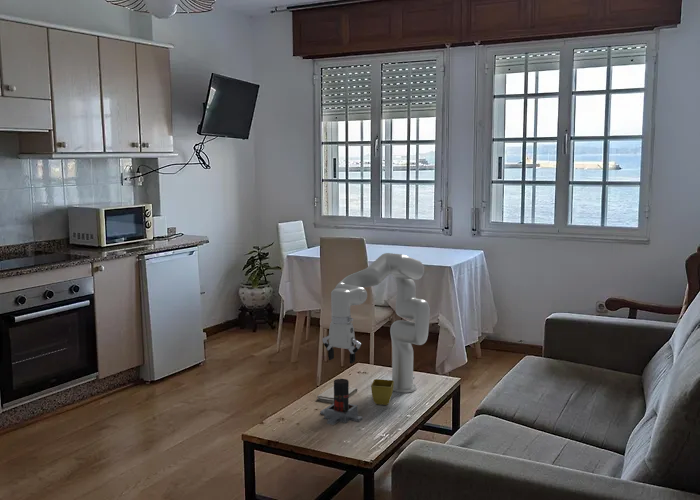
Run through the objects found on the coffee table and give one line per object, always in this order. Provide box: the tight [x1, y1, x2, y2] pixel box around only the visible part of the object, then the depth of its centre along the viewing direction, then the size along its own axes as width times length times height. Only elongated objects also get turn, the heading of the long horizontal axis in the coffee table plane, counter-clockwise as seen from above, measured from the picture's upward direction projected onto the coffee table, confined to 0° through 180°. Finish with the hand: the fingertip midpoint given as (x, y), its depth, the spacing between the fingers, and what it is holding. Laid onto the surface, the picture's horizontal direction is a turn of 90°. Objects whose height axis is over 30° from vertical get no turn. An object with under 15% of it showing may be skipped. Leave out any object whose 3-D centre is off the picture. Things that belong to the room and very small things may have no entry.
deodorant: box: [333, 378, 350, 412], centre depth 269 cm, size 6×6×15 cm
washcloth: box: [316, 385, 358, 404], centre depth 294 cm, size 12×18×3 cm, turn 155°
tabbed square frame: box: [320, 403, 363, 426], centre depth 270 cm, size 18×18×4 cm
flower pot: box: [370, 378, 394, 406], centre depth 285 cm, size 9×9×9 cm
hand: (341, 360), depth 267 cm, fingers open, 9 cm apart
